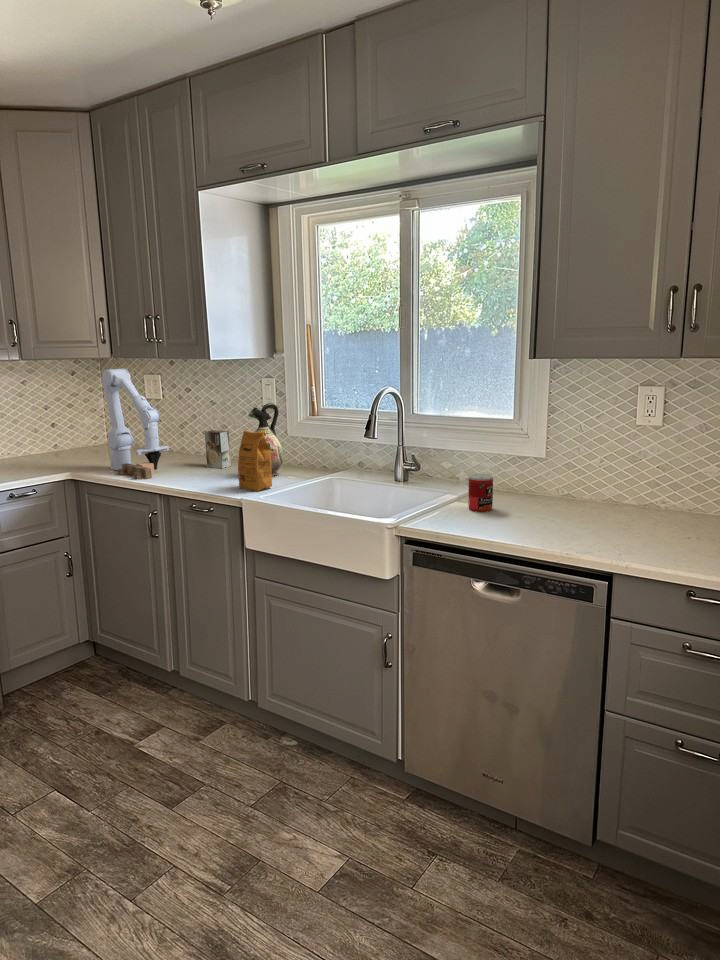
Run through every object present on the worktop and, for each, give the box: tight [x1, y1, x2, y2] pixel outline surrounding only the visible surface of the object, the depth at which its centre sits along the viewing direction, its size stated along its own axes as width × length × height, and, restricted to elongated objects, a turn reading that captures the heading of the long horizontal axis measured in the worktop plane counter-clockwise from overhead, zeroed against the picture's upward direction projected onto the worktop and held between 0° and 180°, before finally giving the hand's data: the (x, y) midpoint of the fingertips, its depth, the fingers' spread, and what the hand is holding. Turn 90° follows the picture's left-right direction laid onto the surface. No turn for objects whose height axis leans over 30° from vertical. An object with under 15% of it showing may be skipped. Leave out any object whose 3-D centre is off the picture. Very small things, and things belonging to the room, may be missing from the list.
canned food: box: [467, 473, 494, 513], centre depth 222 cm, size 8×8×11 cm
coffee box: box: [204, 429, 232, 469], centre depth 306 cm, size 9×6×16 cm
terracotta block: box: [135, 461, 155, 475], centre depth 293 cm, size 6×5×4 cm
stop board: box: [117, 463, 153, 480], centre depth 289 cm, size 20×5×4 cm, turn 47°
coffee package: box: [237, 429, 273, 492], centre depth 259 cm, size 10×12×22 cm
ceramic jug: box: [248, 402, 284, 477], centre depth 283 cm, size 17×15×30 cm
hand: (154, 469), depth 296 cm, fingers closed
